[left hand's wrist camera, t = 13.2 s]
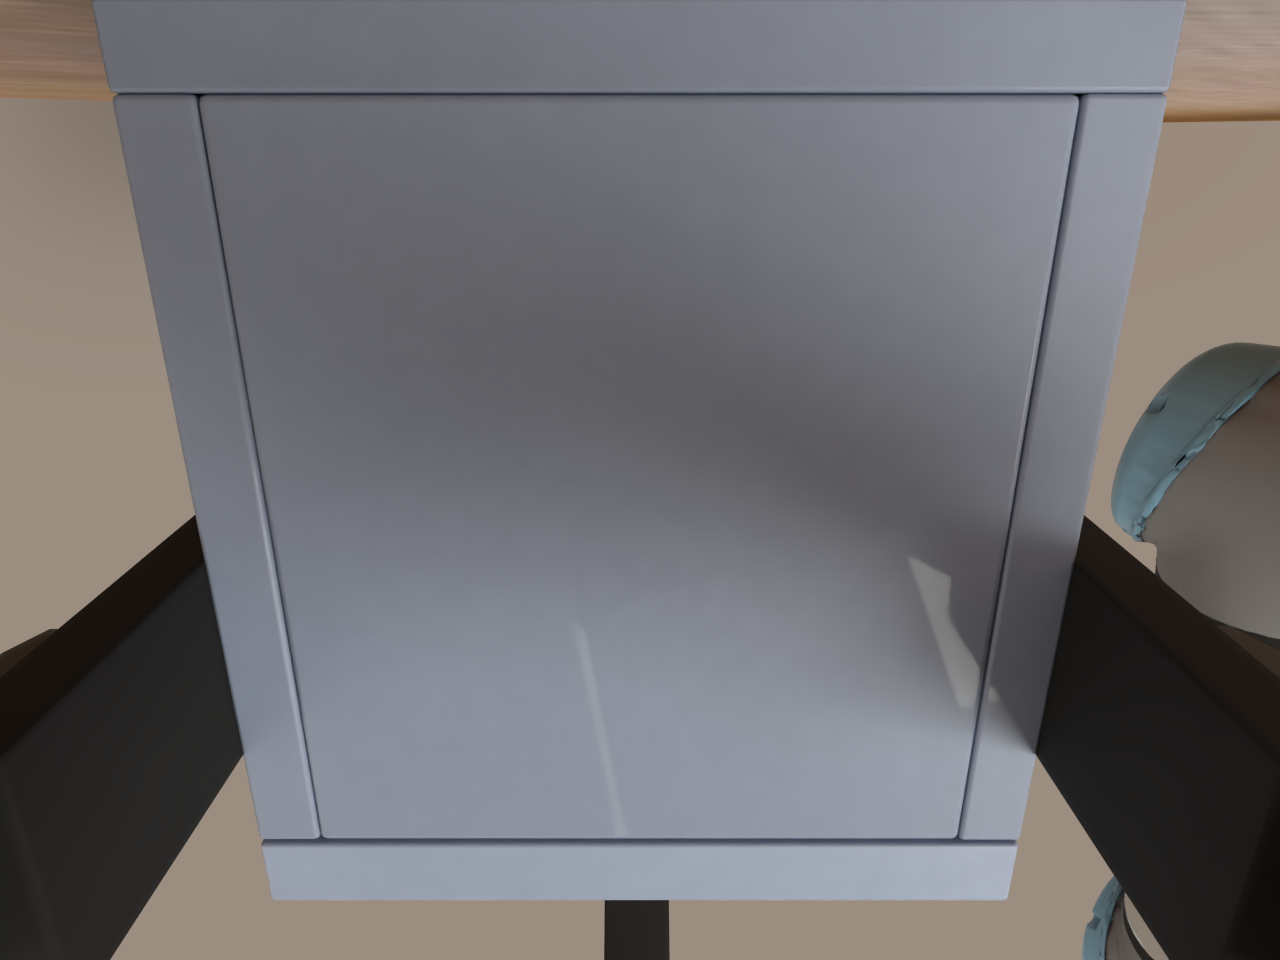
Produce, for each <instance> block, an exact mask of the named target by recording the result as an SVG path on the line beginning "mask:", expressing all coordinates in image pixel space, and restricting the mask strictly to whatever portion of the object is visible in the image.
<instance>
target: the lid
mask: <svg viewBox="0 0 1280 960" xmlns="http://www.w3.org/2000/svg"><path fill="white" fill-rule="evenodd" d="M261 847H262V853H263V857H264V863H265V867H266V872H267V877H268V882H269V887H270V892H271V897H272V899H274V900H1005V899H1007V897H1008V892H1009V887H1010V883H1011V878H1012V873H1013V868H1014V863H1015V858H1016V853H1017V848H1018V845H1017V842H1016V840H963V839H961V838H960V837H959V836H958V833H957V836H956V837H954V838H325V837H323V835H322V833H321V834H320V836H319V837H318V838H315V839H264V840H263V842H262V844H261Z"/></svg>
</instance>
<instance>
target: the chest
mask: <svg viewBox="0 0 1280 960" xmlns="http://www.w3.org/2000/svg"><path fill="white" fill-rule="evenodd" d="M1186 3H1187V2H1186V0H92V6H93V11H94V16H95V21H96V26H97V31H98V36H99V41H100V46H101V51H102V56H103V61H104V66H105V71H106V76H107V81H108V86H109V88H110V90H111V91H112V92H114V93H118V95H116V96H114V97H113V106H114V111H115V116H116V121H117V126H118V131H119V136H120V141H121V146H122V151H123V156H124V161H125V166H126V171H127V176H128V181H129V186H130V191H131V196H132V201H133V206H134V211H135V216H136V221H137V226H138V231H139V236H140V241H141V245H142V251H143V256H144V261H145V266H146V271H147V276H148V281H149V285H150V290H151V296H152V301H153V306H154V311H155V316H156V321H157V326H158V331H159V336H160V341H161V346H162V351H163V356H164V361H165V366H166V370H167V376H168V381H169V386H170V391H171V396H172V401H173V405H174V411H175V416H176V420H177V425H178V431H179V436H180V441H181V446H182V451H183V455H184V460H185V466H186V471H187V475H188V480H189V485H190V490H191V495H192V500H193V505H194V510H195V515H196V520H197V525H198V530H199V535H200V540H201V545H202V550H203V555H204V560H205V565H206V570H207V575H208V580H209V585H210V590H211V595H212V600H213V605H214V610H215V615H216V620H217V625H218V630H219V635H220V640H221V645H222V650H223V655H224V660H225V665H226V670H227V675H228V680H229V685H230V690H231V695H232V700H233V705H234V710H235V715H236V720H237V725H238V730H239V735H240V740H241V745H242V750H243V755H244V760H245V765H246V770H247V775H248V780H249V785H250V790H251V795H252V800H253V805H254V810H255V815H256V820H257V825H258V830H259V835H260V837H261V838H263V839H315V838H318V837H319V836H320V834H321V833H322V835H323V837H325V838H954V837H956V836H957V833H958V836H959V837H960V838H961V839H963V840H1016V839H1018V838H1019V837H1020V833H1021V828H1022V823H1023V818H1024V813H1025V808H1026V803H1027V798H1028V792H1029V788H1030V783H1031V778H1032V773H1033V768H1034V763H1035V758H1036V752H1037V747H1038V742H1039V737H1040V732H1041V727H1042V722H1043V717H1044V712H1045V707H1046V702H1047V697H1048V692H1049V687H1050V682H1051V677H1052V672H1053V667H1054V662H1055V657H1056V652H1057V647H1058V642H1059V637H1060V632H1061V627H1062V622H1063V617H1064V612H1065V607H1066V602H1067V597H1068V592H1069V587H1070V582H1071V577H1072V572H1073V567H1074V562H1075V557H1076V552H1077V547H1078V542H1079V537H1080V532H1081V527H1082V522H1083V517H1084V512H1085V507H1086V502H1087V497H1088V492H1089V487H1090V482H1091V477H1092V472H1093V467H1094V462H1095V457H1096V452H1097V447H1098V442H1099V437H1100V432H1101V427H1102V422H1103V417H1104V412H1105V407H1106V402H1107V397H1108V392H1109V387H1110V382H1111V377H1112V372H1113V367H1114V362H1115V357H1116V352H1117V347H1118V342H1119V337H1120V332H1121V327H1122V322H1123V317H1124V312H1125V307H1126V302H1127V297H1128V292H1129V287H1130V282H1131V277H1132V272H1133V267H1134V262H1135V257H1136V252H1137V247H1138V242H1139V237H1140V232H1141V227H1142V222H1143V217H1144V212H1145V207H1146V202H1147V197H1148V191H1149V187H1150V182H1151V177H1152V172H1153V166H1154V161H1155V156H1156V152H1157V147H1158V142H1159V137H1160V132H1161V127H1162V122H1163V117H1164V112H1165V106H1166V101H1167V98H1166V96H1165V95H1163V94H1161V93H1164V92H1166V91H1167V90H1168V89H1169V87H1170V83H1171V78H1172V73H1173V68H1174V63H1175V58H1176V53H1177V48H1178V43H1179V38H1180V33H1181V28H1182V23H1183V18H1184V13H1185V8H1186Z"/></svg>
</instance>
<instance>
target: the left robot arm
mask: <svg viewBox="0 0 1280 960" xmlns="http://www.w3.org/2000/svg"><path fill="white" fill-rule="evenodd" d="M242 756H243V750H242V745H241V740H240V735H239V730H238V725H237V720H236V715H235V710H234V705H233V700H232V695H231V690H230V685H229V680H228V675H227V670H226V665H225V660H224V655H223V650H222V645H221V640H220V635H219V630H218V625H217V620H216V615H215V610H214V605H213V600H212V595H211V590H210V585H209V580H208V575H207V570H206V565H205V560H204V555H203V550H202V545H201V540H200V535H199V530H198V525H197V520H196V515H194V516H193V517H192V518H191V519H190V520H188V521H187V522H186V523H185V524H184V525H182V526H181V527H180V528H179V529H178V530H176V531H175V532H174V533H173V534H172V535H170V536H169V537H168V538H167V539H166V540H164V541H163V542H162V543H161V544H160V545H158V546H157V547H156V548H155V549H154V550H152V551H151V552H150V553H149V554H148V555H146V556H145V557H144V558H143V559H142V560H140V561H139V562H138V563H137V564H136V565H134V566H133V567H132V568H131V569H130V570H128V571H127V572H126V573H125V574H124V575H122V576H121V577H120V578H119V579H118V580H116V581H115V582H114V583H113V584H112V585H111V586H109V587H108V588H107V589H106V590H104V591H103V592H102V593H101V594H100V595H98V596H97V597H96V598H95V599H94V600H93V601H91V602H90V603H89V604H88V605H87V606H85V607H84V608H83V609H82V610H81V611H79V612H78V613H77V614H76V615H75V616H73V617H72V618H71V619H70V620H69V621H67V622H66V623H65V624H64V625H63V626H61V627H60V628H59V629H49V630H47V631H45V632H43V633H41V634H39V635H37V636H35V637H33V638H31V639H29V640H27V641H25V642H23V643H21V644H19V645H17V646H15V647H13V648H11V649H9V650H7V651H5V652H3V653H2V654H0V960H110V959H111V957H112V956H113V954H114V953H115V951H116V950H117V948H118V947H119V945H120V944H121V942H122V940H123V939H124V937H125V936H126V934H127V933H128V931H129V930H130V928H131V927H132V925H133V923H134V922H135V920H136V919H137V917H138V916H139V914H140V913H141V911H142V910H143V908H144V906H145V905H146V903H147V902H148V900H149V899H150V897H151V896H152V894H153V893H154V891H155V890H156V888H157V887H158V885H159V883H160V882H161V880H162V879H163V877H164V876H165V874H166V873H167V871H168V870H169V868H170V866H171V865H172V863H173V862H174V860H175V859H176V857H177V856H178V854H179V853H180V851H181V849H182V848H183V846H184V845H185V843H186V842H187V840H188V839H189V837H190V836H191V834H192V833H193V831H194V829H195V828H196V826H197V825H198V823H199V822H200V820H201V819H202V817H203V816H204V814H205V812H206V811H207V809H208V808H209V806H210V805H211V803H212V802H213V800H214V799H215V797H216V795H217V794H218V792H219V791H220V789H221V788H222V786H223V785H224V783H225V782H226V780H227V779H228V777H229V776H230V774H231V772H232V771H233V769H234V768H235V766H236V765H237V763H238V762H239V760H240V758H241V757H242ZM1036 756H1037V757H1038V759H1039V760H1040V762H1041V763H1042V765H1043V766H1044V768H1045V769H1046V771H1047V772H1048V774H1049V776H1050V777H1051V779H1052V780H1053V782H1054V783H1055V785H1056V786H1057V788H1058V789H1059V791H1060V793H1061V794H1062V796H1063V797H1064V799H1065V800H1066V802H1067V803H1068V805H1069V806H1070V808H1071V809H1072V811H1073V813H1074V814H1075V816H1076V817H1077V819H1078V820H1079V822H1080V823H1081V825H1082V826H1083V828H1084V829H1085V831H1086V833H1087V834H1088V836H1089V837H1090V839H1091V840H1092V842H1093V843H1094V845H1095V846H1096V848H1097V850H1098V851H1099V853H1100V854H1101V856H1102V857H1103V859H1104V860H1105V862H1106V863H1107V865H1108V867H1109V868H1110V870H1111V871H1112V873H1113V874H1114V876H1115V877H1116V879H1117V880H1118V882H1119V883H1120V885H1121V887H1122V888H1123V890H1124V891H1125V893H1126V894H1127V896H1128V897H1129V899H1130V900H1131V902H1132V904H1133V905H1134V907H1135V908H1136V910H1137V911H1138V913H1139V914H1140V916H1141V917H1142V919H1143V920H1144V922H1145V924H1146V925H1147V927H1148V928H1149V930H1150V931H1151V933H1152V934H1153V936H1154V937H1155V939H1156V941H1157V942H1158V944H1159V945H1160V947H1161V948H1162V950H1163V951H1164V953H1165V954H1166V956H1167V957H1168V959H1169V960H1280V651H1279V650H1277V649H1275V648H1273V647H1271V646H1269V645H1267V644H1265V643H1263V642H1261V641H1259V640H1257V639H1255V638H1253V637H1251V636H1249V635H1247V634H1245V633H1243V632H1241V631H1239V630H1237V629H1235V628H1233V627H1231V626H1216V625H1215V624H1214V623H1213V622H1212V621H1210V620H1209V619H1208V618H1207V617H1206V616H1204V615H1203V614H1202V613H1201V612H1200V611H1198V610H1197V609H1196V608H1195V607H1194V606H1192V605H1191V604H1190V603H1189V602H1188V601H1186V600H1185V599H1184V598H1183V597H1182V596H1180V595H1179V594H1178V593H1177V592H1176V591H1174V590H1173V589H1172V588H1171V587H1170V586H1168V585H1167V584H1166V583H1165V582H1164V581H1162V580H1161V579H1160V578H1159V577H1158V576H1156V575H1155V574H1154V573H1153V572H1152V571H1150V570H1149V569H1148V568H1147V567H1146V566H1144V565H1143V564H1142V563H1141V562H1140V561H1138V560H1137V559H1136V558H1135V557H1134V556H1132V555H1131V554H1130V553H1129V552H1128V551H1126V550H1125V549H1124V548H1123V547H1122V546H1120V545H1119V544H1118V543H1117V542H1116V541H1114V540H1113V539H1112V538H1111V537H1110V536H1108V535H1107V534H1106V533H1105V532H1104V531H1102V530H1101V529H1100V528H1099V527H1098V526H1096V525H1095V524H1094V523H1093V522H1092V521H1091V520H1089V519H1088V518H1087V517H1086V516H1085V515H1084V517H1083V522H1082V527H1081V532H1080V537H1079V542H1078V547H1077V552H1076V557H1075V562H1074V567H1073V572H1072V577H1071V582H1070V587H1069V592H1068V597H1067V602H1066V607H1065V612H1064V617H1063V622H1062V627H1061V632H1060V637H1059V642H1058V647H1057V652H1056V657H1055V662H1054V667H1053V672H1052V677H1051V682H1050V687H1049V692H1048V697H1047V702H1046V707H1045V712H1044V717H1043V722H1042V727H1041V732H1040V737H1039V742H1038V747H1037V752H1036Z"/></svg>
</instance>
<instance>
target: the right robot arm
mask: <svg viewBox="0 0 1280 960" xmlns="http://www.w3.org/2000/svg"><path fill="white" fill-rule="evenodd" d="M1111 507H1112V513H1113V517H1114V520H1115V522H1116V524H1118V525H1119V526H1120V527H1122V529H1123V531H1124V532H1126V533H1127V534H1129V535H1131V536H1132V538H1133V539H1134V540H1135V541H1138V542H1150V543H1152V544H1154V545H1155V546H1156V548H1157V557H1156V571H1155V575H1156V576H1158V577H1159V578H1160V579H1161V580H1162V581H1164V582H1165V583H1166V584H1167V585H1168V586H1170V587H1171V588H1172V589H1173V590H1174V591H1176V592H1177V593H1178V594H1179V595H1180V596H1182V597H1183V598H1184V599H1185V600H1186V601H1188V602H1189V603H1190V604H1191V605H1192V606H1194V607H1195V608H1196V609H1197V610H1198V611H1200V612H1201V613H1202V614H1203V615H1204V616H1206V617H1207V618H1208V619H1209V620H1210V621H1212V622H1213V623H1214V624H1215V625H1216V626H1231V627H1233V628H1235V629H1237V630H1239V631H1241V632H1243V633H1245V634H1247V635H1249V636H1251V637H1253V638H1255V639H1257V640H1259V641H1261V642H1263V643H1265V644H1267V645H1269V646H1271V647H1273V648H1275V649H1277V650H1279V651H1280V347H1279V346H1270V345H1262V344H1254V343H1230V344H1224V345H1221V346H1218V347H1215V348H1212V349H1210V350H1208V351H1206V352H1204V353H1202V354H1200V355H1198V356H1197V357H1195V358H1194V359H1192V360H1191V361H1190V362H1188V363H1187V364H1186V365H1184V366H1183V367H1182V368H1181V369H1180V370H1179V371H1178V372H1176V373H1175V374H1174V375H1173V376H1172V377H1171V378H1170V379H1169V380H1168V382H1167V383H1166V384H1165V385H1164V386H1163V387H1162V388H1161V389H1160V391H1159V392H1158V393H1157V395H1156V396H1155V397H1154V399H1153V400H1152V401H1151V403H1150V405H1149V406H1148V408H1147V409H1146V410H1145V412H1144V413H1143V414H1142V416H1141V418H1140V419H1139V421H1138V422H1137V424H1136V426H1135V428H1134V430H1133V431H1132V433H1131V435H1130V437H1129V439H1128V441H1127V444H1126V446H1125V448H1124V450H1123V453H1122V455H1121V458H1120V461H1119V464H1118V467H1117V470H1116V474H1115V478H1114V482H1113V487H1112V495H1111ZM1093 913H1094V917H1093V919H1092V921H1091V922H1089V923H1088V924H1087V926H1086V930H1085V934H1084V939H1083V948H1082V960H1169V959H1168V957H1167V956H1166V954H1165V953H1164V951H1163V950H1162V948H1161V947H1160V945H1159V944H1158V942H1157V941H1156V939H1155V937H1154V936H1153V934H1152V933H1151V931H1150V930H1149V928H1148V927H1147V925H1146V924H1145V922H1144V920H1143V919H1142V917H1141V916H1140V914H1139V913H1138V911H1137V910H1136V908H1135V907H1134V905H1133V904H1132V902H1131V900H1130V899H1129V897H1128V896H1127V894H1126V893H1125V891H1124V890H1123V888H1122V887H1121V885H1120V883H1119V882H1118V880H1117V879H1116V877H1115V876H1113V877H1112V879H1111V880H1110V881H1109V882H1108V883H1107V885H1106V886H1105V888H1104V889H1103V891H1102V892H1101V894H1100V896H1099V898H1098V899H1097V901H1096V903H1095V906H1094V908H1093ZM604 947H605V948H604V960H669V900H605V944H604Z"/></svg>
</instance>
